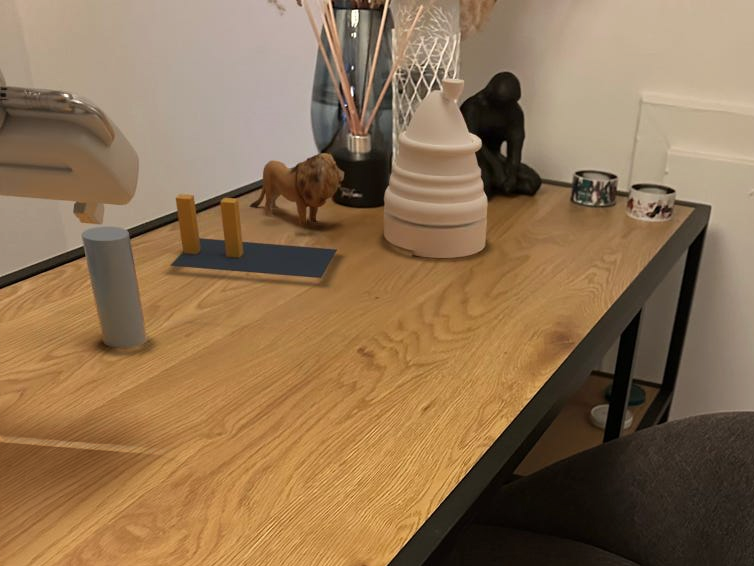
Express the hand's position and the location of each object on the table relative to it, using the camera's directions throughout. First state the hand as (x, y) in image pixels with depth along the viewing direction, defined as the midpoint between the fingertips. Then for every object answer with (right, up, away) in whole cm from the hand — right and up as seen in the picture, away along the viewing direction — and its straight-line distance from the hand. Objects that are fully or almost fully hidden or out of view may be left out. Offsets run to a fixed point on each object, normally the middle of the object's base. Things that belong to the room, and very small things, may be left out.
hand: (32, 210), depth 71 cm
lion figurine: (+10, +21, +51) cm, 56 cm away
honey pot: (+28, +18, +48) cm, 58 cm away
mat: (+8, +11, +38) cm, 41 cm away
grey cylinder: (0, -4, +19) cm, 19 cm away
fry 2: (+5, +12, +38) cm, 40 cm away
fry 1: (0, +13, +38) cm, 40 cm away
